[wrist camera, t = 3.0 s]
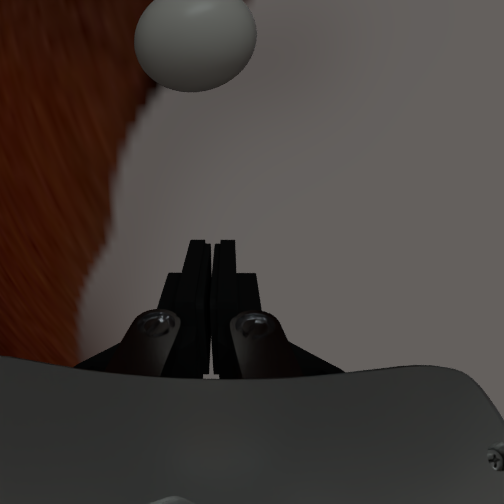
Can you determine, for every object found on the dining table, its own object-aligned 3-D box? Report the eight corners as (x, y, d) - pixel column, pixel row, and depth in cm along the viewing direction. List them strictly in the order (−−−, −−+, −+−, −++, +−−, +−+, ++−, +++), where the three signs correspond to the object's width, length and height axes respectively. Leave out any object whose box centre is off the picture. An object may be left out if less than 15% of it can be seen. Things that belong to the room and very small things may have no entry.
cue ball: (190, 114, 15) (177, 118, 10) (129, 48, 13) (92, 26, 8) (270, 55, 14) (294, 33, 9) (209, -11, 12) (206, -55, 7)
